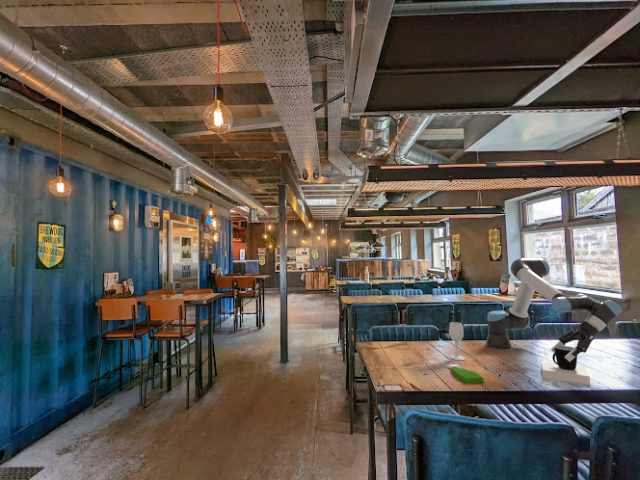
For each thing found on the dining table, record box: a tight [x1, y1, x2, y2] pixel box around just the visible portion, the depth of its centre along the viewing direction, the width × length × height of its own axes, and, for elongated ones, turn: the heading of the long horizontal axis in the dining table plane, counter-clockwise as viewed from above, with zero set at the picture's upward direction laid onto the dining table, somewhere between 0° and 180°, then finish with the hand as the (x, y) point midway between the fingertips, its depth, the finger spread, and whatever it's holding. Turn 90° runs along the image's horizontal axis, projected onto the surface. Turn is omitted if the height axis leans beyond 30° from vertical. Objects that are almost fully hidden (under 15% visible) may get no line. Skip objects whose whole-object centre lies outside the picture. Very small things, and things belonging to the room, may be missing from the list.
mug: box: [552, 345, 578, 370], centre depth 159 cm, size 12×9×10 cm
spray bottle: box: [445, 364, 485, 384], centre depth 164 cm, size 3×11×24 cm
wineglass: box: [448, 321, 466, 361], centre depth 192 cm, size 9×9×21 cm
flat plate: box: [540, 360, 591, 386], centre depth 159 cm, size 18×16×4 cm
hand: (559, 355), depth 160 cm, fingers open, 13 cm apart
